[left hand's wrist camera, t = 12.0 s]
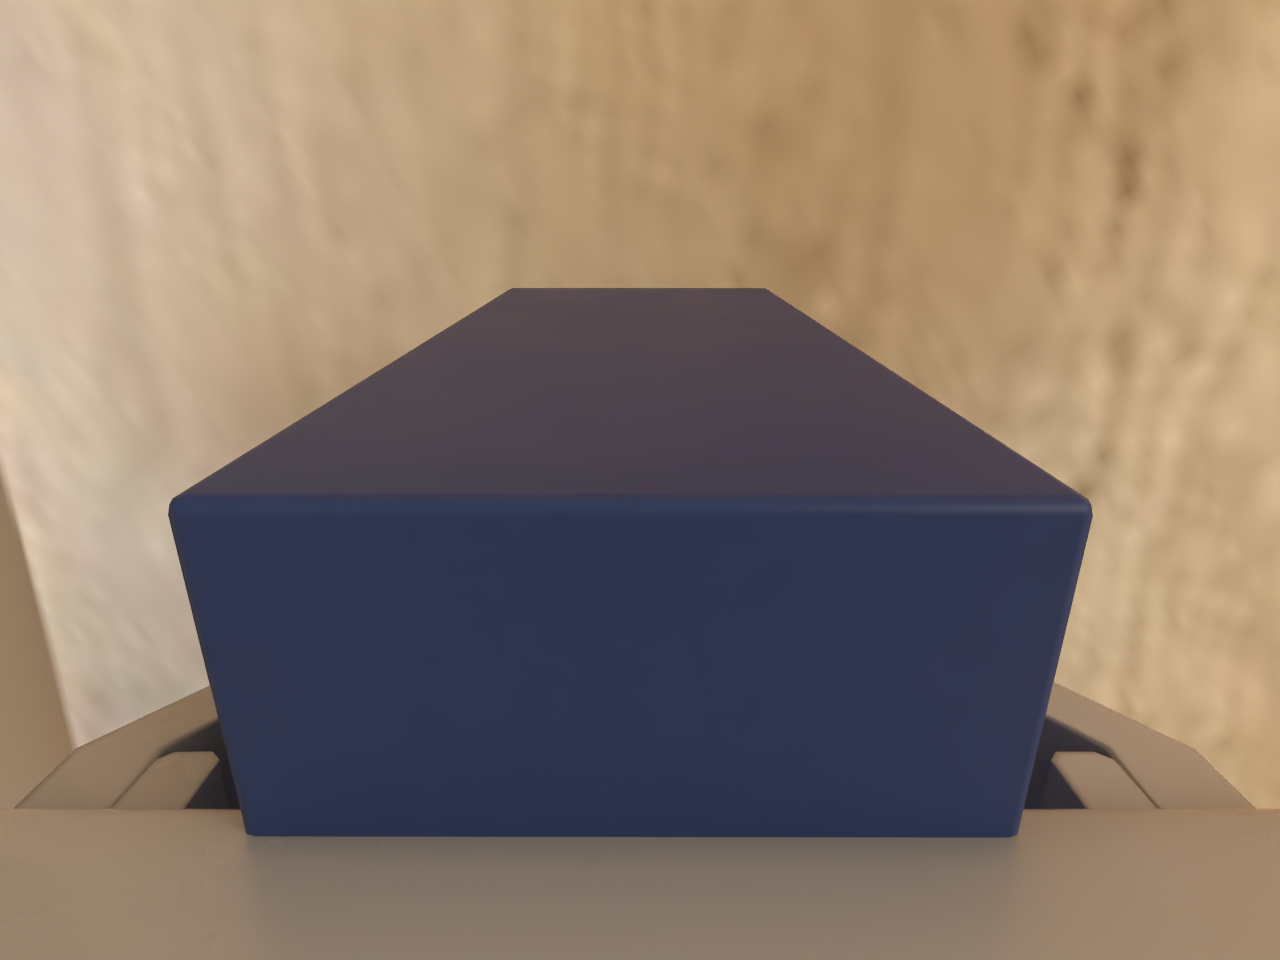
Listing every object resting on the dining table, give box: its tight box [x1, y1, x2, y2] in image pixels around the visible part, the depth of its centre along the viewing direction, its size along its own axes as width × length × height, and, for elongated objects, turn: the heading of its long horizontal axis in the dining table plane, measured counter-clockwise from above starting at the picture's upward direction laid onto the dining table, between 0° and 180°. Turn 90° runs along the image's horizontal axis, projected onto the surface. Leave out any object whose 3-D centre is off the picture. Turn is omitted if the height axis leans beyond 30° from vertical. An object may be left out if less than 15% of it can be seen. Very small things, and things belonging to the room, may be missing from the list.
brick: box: [168, 288, 1093, 838], centre depth 11 cm, size 5×8×11 cm, turn 0°
